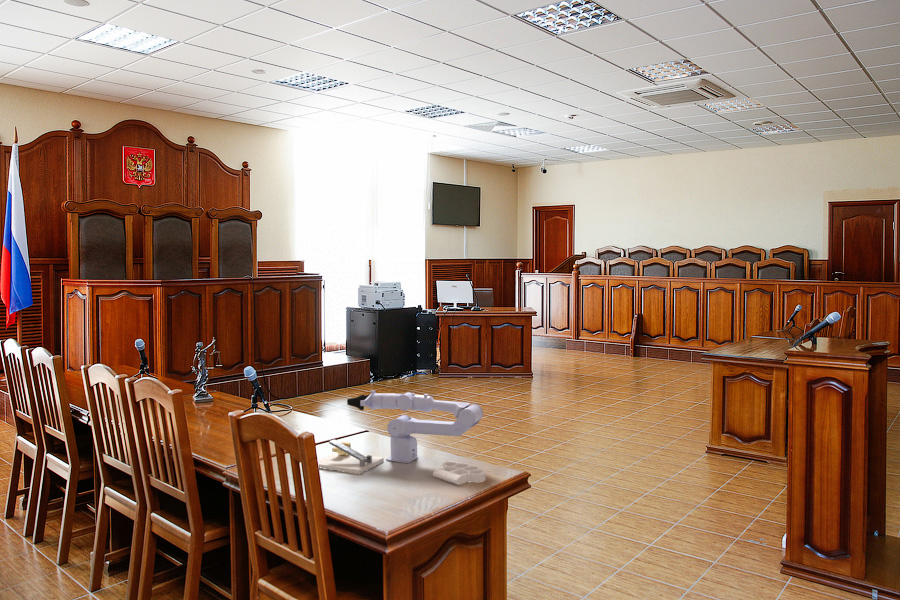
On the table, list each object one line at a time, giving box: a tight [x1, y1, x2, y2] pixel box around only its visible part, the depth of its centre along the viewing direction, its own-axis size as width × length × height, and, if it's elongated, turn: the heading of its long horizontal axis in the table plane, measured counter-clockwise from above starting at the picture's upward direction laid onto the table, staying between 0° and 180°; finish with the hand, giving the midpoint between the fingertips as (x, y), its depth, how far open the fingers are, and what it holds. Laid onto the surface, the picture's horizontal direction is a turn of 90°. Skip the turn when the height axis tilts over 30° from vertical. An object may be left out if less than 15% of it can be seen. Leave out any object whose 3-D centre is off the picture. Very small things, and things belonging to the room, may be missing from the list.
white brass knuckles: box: [432, 460, 486, 486], centre depth 223 cm, size 3×18×15 cm
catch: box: [331, 441, 352, 456], centre depth 244 cm, size 4×6×4 cm, turn 154°
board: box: [317, 452, 385, 475], centre depth 238 cm, size 20×16×4 cm
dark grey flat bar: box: [328, 439, 370, 463], centre depth 236 cm, size 16×3×1 cm, turn 65°
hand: (352, 400), depth 250 cm, fingers open, 7 cm apart
